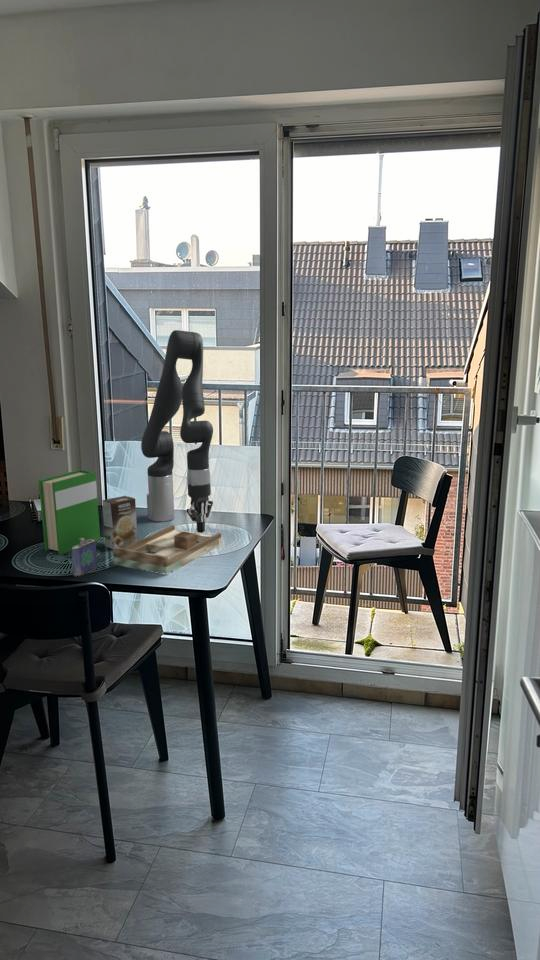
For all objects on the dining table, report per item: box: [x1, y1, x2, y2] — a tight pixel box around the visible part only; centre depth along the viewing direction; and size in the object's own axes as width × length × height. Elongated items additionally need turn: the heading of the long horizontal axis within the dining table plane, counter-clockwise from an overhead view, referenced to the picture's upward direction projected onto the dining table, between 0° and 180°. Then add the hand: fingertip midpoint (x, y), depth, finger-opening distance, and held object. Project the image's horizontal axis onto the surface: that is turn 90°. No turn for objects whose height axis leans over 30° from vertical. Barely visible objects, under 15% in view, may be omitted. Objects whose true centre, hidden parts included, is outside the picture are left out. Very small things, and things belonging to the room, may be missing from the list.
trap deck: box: [112, 524, 222, 574], centre depth 222 cm, size 20×31×6 cm, turn 152°
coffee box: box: [102, 495, 138, 550], centre depth 230 cm, size 9×6×16 cm
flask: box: [71, 538, 98, 577], centre depth 208 cm, size 9×3×11 cm, turn 151°
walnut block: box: [174, 531, 197, 550], centre depth 222 cm, size 5×5×4 cm
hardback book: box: [38, 469, 101, 555], centre depth 230 cm, size 18×7×24 cm, turn 147°
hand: (201, 532), depth 229 cm, fingers closed
